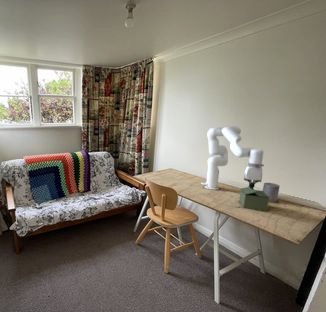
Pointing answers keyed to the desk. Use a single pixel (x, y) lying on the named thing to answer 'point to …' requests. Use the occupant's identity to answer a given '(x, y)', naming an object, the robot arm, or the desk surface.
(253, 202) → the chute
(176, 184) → the desk surface
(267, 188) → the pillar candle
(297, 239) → the desk surface
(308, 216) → the desk surface
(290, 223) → the desk surface
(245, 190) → the flap
